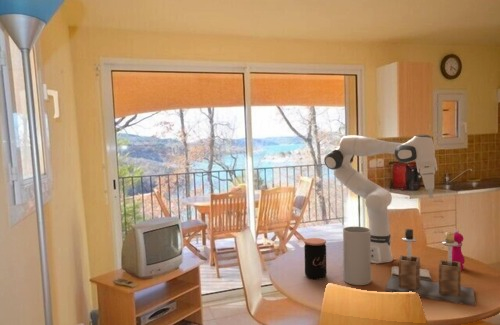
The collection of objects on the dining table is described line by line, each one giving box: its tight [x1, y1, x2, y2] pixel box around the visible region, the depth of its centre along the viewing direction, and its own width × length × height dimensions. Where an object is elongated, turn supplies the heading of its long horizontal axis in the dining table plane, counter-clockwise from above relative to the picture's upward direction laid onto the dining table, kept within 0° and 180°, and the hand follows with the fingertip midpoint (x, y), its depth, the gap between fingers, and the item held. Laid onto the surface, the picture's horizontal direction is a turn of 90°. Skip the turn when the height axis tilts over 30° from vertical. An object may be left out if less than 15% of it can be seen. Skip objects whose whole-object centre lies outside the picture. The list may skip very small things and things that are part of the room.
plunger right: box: [441, 231, 458, 266], centre depth 157 cm, size 6×6×15 cm
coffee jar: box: [303, 237, 328, 280], centre depth 184 cm, size 11×11×18 cm
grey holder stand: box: [385, 254, 476, 307], centre depth 162 cm, size 34×16×14 cm, turn 61°
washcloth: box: [391, 266, 433, 282], centre depth 181 cm, size 12×18×3 cm, turn 69°
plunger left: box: [401, 228, 417, 261], centre depth 165 cm, size 6×6×15 cm
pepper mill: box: [452, 229, 466, 271], centre depth 189 cm, size 7×7×20 cm
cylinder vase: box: [342, 226, 372, 286], centre depth 175 cm, size 12×12×25 cm
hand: (431, 195), depth 178 cm, fingers open, 8 cm apart
